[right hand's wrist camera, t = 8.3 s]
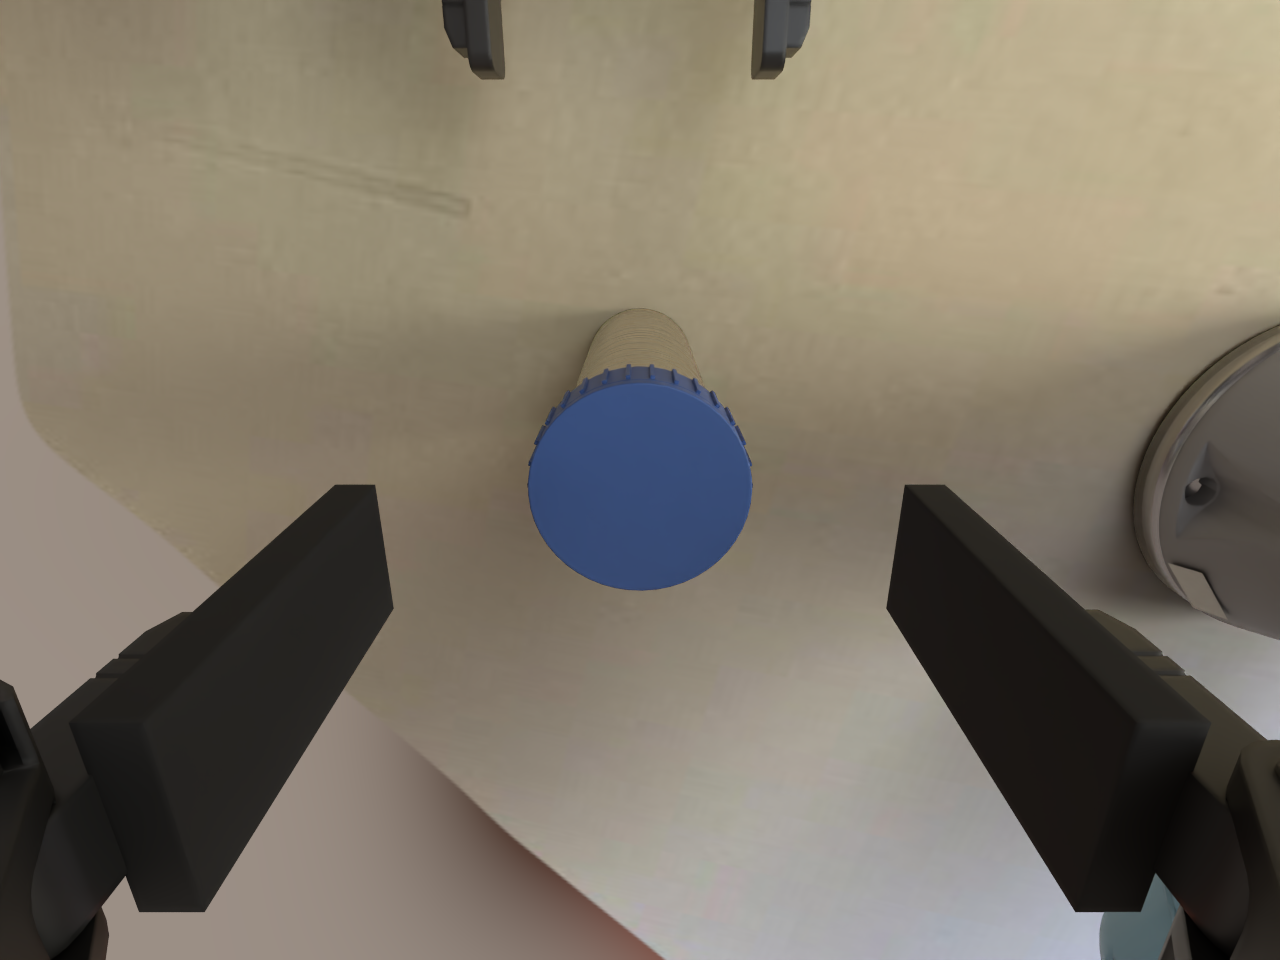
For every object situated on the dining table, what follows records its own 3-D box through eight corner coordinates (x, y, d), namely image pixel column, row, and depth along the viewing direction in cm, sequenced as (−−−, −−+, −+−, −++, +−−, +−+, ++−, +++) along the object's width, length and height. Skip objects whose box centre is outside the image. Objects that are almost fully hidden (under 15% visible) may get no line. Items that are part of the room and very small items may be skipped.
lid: (615, 317, 16) (611, 330, 15) (787, 445, 18) (803, 470, 16) (495, 487, 18) (480, 515, 16) (661, 593, 19) (663, 630, 17)
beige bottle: (628, 286, 30) (618, 354, 15) (711, 349, 30) (773, 466, 16) (569, 371, 31) (509, 505, 17) (650, 428, 32) (659, 600, 18)
